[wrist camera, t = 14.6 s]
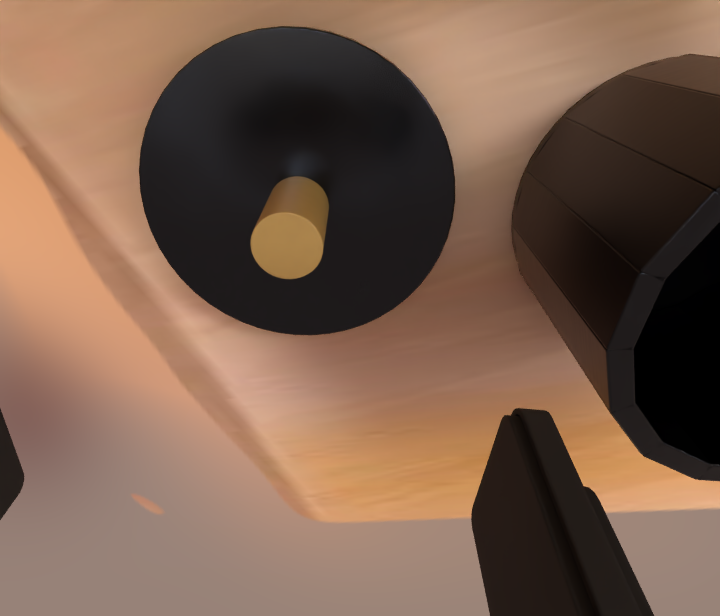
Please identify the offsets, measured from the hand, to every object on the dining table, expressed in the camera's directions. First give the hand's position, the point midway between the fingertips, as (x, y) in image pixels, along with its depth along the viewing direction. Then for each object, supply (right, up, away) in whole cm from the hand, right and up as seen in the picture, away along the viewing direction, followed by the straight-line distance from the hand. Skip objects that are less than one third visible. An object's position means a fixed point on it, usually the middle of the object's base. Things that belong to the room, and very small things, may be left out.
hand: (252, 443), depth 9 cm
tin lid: (-1, +7, +13) cm, 15 cm away
